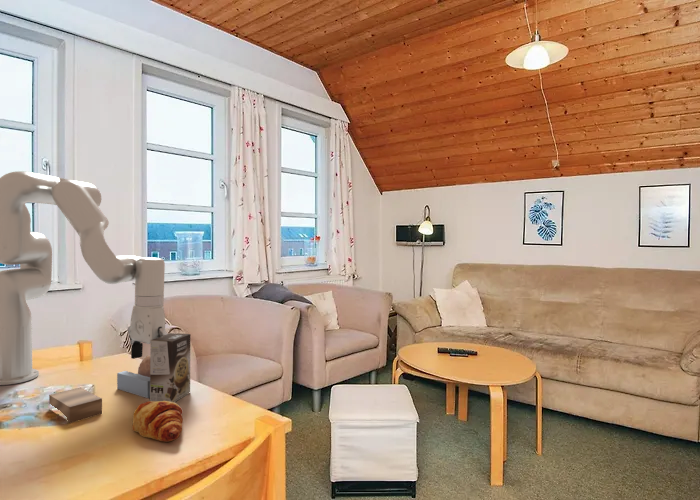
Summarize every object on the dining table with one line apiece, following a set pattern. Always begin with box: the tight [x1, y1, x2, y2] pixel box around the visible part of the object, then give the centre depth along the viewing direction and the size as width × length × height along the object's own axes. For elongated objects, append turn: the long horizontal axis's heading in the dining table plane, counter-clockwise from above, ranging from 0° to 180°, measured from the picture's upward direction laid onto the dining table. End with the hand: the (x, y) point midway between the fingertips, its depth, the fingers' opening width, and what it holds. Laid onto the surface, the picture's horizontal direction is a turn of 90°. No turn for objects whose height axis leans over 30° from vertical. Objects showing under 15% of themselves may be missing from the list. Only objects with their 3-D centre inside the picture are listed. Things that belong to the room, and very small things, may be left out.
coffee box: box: [149, 332, 191, 403], centre depth 120 cm, size 9×6×16 cm
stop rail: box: [116, 370, 150, 399], centre depth 124 cm, size 13×2×4 cm, turn 60°
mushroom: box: [137, 354, 150, 377], centre depth 131 cm, size 8×6×8 cm
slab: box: [48, 387, 103, 424], centre depth 110 cm, size 12×7×4 cm, turn 52°
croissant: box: [132, 400, 184, 443], centre depth 102 cm, size 21×10×8 cm, turn 42°
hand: (147, 360), depth 131 cm, fingers open, 9 cm apart
